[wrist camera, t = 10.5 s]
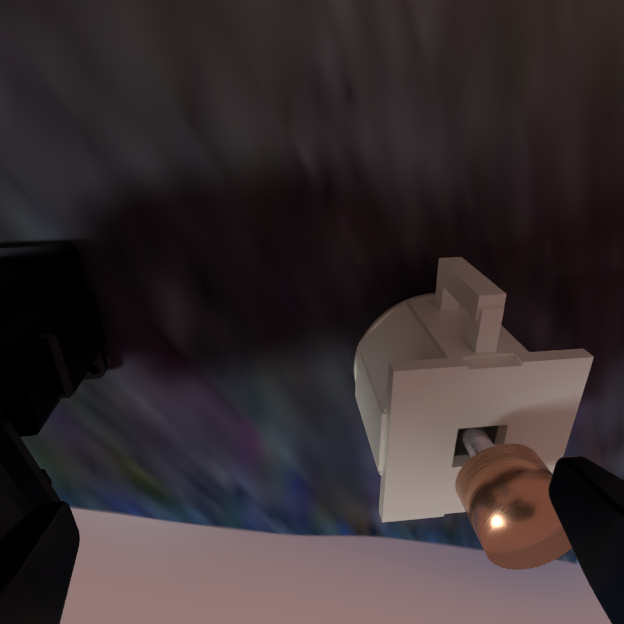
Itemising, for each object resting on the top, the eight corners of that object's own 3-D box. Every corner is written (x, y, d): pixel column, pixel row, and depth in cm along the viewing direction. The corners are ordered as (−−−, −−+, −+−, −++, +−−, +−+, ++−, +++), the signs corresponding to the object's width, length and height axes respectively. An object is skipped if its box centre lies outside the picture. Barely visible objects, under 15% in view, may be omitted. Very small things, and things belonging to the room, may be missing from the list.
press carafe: (351, 426, 24) (377, 523, 19) (356, 252, 20) (392, 314, 14) (487, 414, 25) (551, 506, 19) (522, 244, 21) (617, 300, 15)
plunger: (377, 417, 23) (441, 598, 15) (383, 326, 21) (462, 481, 12) (477, 409, 24) (593, 580, 15) (493, 319, 21) (642, 465, 13)
